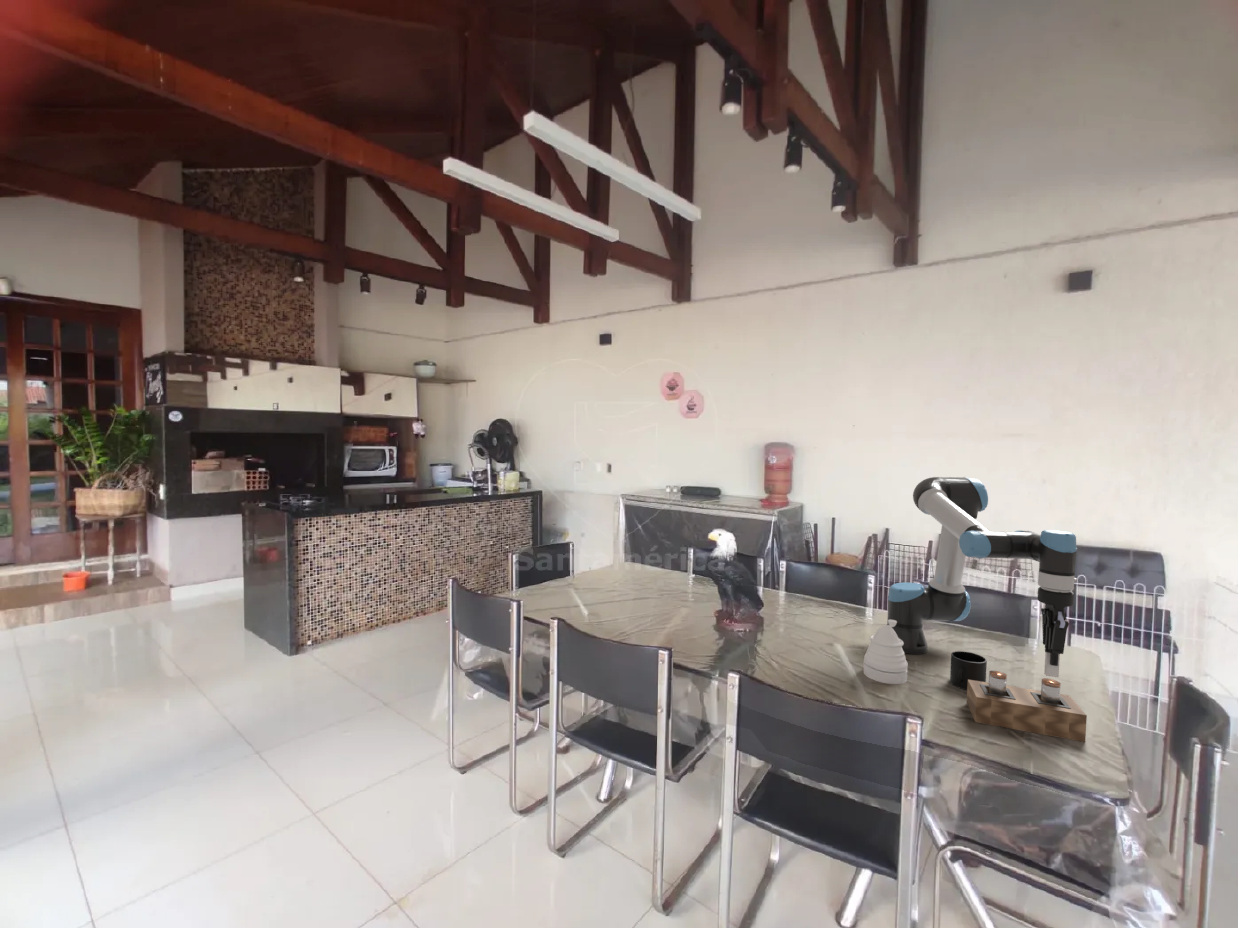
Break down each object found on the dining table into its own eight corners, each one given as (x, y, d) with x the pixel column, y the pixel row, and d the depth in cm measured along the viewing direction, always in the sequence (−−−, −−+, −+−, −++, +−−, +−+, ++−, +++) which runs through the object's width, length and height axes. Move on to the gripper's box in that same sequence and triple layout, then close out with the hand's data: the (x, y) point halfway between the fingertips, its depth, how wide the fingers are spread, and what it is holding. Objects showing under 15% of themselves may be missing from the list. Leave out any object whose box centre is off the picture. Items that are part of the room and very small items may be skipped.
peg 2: (1043, 708, 147) (1044, 683, 147) (1038, 702, 151) (1039, 677, 150) (1061, 711, 145) (1062, 685, 145) (1056, 705, 149) (1057, 679, 149)
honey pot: (889, 666, 186) (891, 614, 186) (916, 682, 174) (918, 626, 173) (855, 668, 184) (857, 615, 183) (879, 685, 172) (881, 628, 171)
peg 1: (990, 699, 152) (991, 674, 151) (986, 693, 155) (987, 669, 155) (1007, 702, 150) (1008, 677, 150) (1003, 696, 154) (1004, 671, 153)
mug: (941, 685, 172) (943, 657, 171) (956, 675, 179) (957, 648, 179) (976, 697, 164) (977, 667, 164) (989, 686, 172) (991, 657, 172)
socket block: (975, 721, 150) (976, 696, 149) (966, 702, 161) (967, 678, 160) (1085, 741, 140) (1086, 714, 140) (1068, 720, 151) (1069, 694, 151)
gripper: (1082, 596, 139) (1078, 688, 140) (1064, 584, 151) (1060, 668, 152) (1046, 593, 142) (1042, 682, 143) (1031, 581, 154) (1027, 664, 155)
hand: (1051, 675), depth 148 cm, fingers closed
